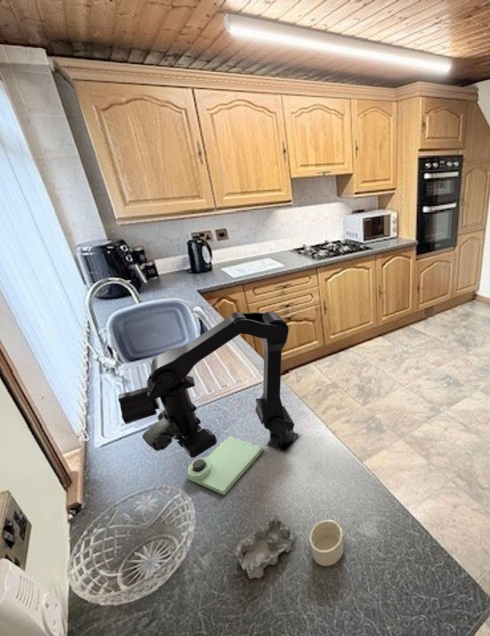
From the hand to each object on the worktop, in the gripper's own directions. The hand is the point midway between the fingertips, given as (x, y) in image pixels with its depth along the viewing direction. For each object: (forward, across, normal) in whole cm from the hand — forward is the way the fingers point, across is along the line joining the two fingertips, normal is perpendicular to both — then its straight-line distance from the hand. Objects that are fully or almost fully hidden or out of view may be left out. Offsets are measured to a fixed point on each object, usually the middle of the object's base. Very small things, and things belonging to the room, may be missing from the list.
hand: (194, 453), depth 88 cm
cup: (+8, +39, +8) cm, 41 cm away
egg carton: (+8, +30, -1) cm, 31 cm away
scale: (+8, +2, +6) cm, 10 cm away
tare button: (+5, 0, 0) cm, 5 cm away
